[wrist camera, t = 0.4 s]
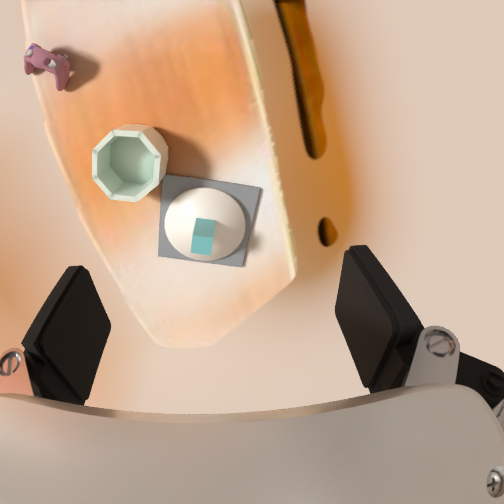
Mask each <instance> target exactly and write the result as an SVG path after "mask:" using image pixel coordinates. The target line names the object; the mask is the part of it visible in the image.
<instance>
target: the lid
mask: <svg viewBox="0 0 504 504" xmlns="http://www.w3.org/2000/svg"><path fill="white" fill-rule="evenodd" d="M165 232H166V235H167V237H168V240H169V241H170V243H171V244H172V245H173V247H174V248H175V249H176V250H177V251H179V252H180V253H181V254H183V255H185V256H187V257H189V258H192V259H195V260H200V261H211V260H217V259H220V258H223V257H225V256H227V255H229V254H230V253H232V252H233V251H234V250H235V249H236V248H237V247H238V246H239V244H240V243H241V241H242V239H243V237H244V233H245V217H244V213H243V211H242V208H241V207H240V205H239V203H238V202H237V201H236V200H235V199H234V198H233V197H232V196H231V195H229V194H228V193H226V192H224V191H222V190H220V189H217V188H213V187H196V188H192V189H189V190H186V191H184V192H183V193H181V194H180V195H178V196H177V197H176V198H175V199H174V200H173V201H172V203H171V204H170V206H169V208H168V210H167V213H166V216H165Z"/></svg>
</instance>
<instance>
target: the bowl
mask: <svg viewBox="0 0 504 504" xmlns="http://www.w3.org/2000/svg"><path fill="white" fill-rule="evenodd" d="M168 148H169V147H168V146H167V144H166V141H165V139H164V138H163V136H162V135H161V134H160V133H159V132H158V131H157V130H156V129H154V128H153V127H152V126H148V125H144V124H124V125H122V126H120V127H118V128H115V129H113V130H112V131H111V132H110V133H109V134H108V135H107V136H106V137H105V138H104V139H103V140H102V141H101V142H100V143H99V144H98V145H97V146H96V147H95V148H94V149H93V150H92V179H93V180H94V181H95V182H96V183H97V185H98V186H99V187H100V188H101V189H102V190H103V191H104V193H105V194H106V195H107V196H108V197H109V198H110V199H113V200H122V201H131V202H138V201H139V200H140V199H142V198H143V197H144V196H145V195H146V194H148V193H149V192H150V191H151V190H153V189H154V188H155V187H156V186H157V185H159V183H160V182H161V180H162V179H163V177H164V176H165V174H166V167H167V163H168V157H169V153H168Z"/></svg>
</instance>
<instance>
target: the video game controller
mask: <svg viewBox="0 0 504 504" xmlns="http://www.w3.org/2000/svg"><path fill="white" fill-rule="evenodd" d="M67 59H68V57H67V55H65V54H62V56H61V55H58V54H52V53H50V52H49V51H46V50H44V49H42V48H41V47H40V46H38V45H37V44H34V43H32V44H31V45H30V47H29V48H28V49H27V51H26V53H25V55H24V62H25V66H24V68H25V73H26V74H27V75H29V74H31V73H32V72H33V71H34V70H35V67H36V68H39V69H45V70H47V71H48V72H51V73H53V74H54V75H55V79H56V88H57V90H58V91H61V90H63V89H64V88H65V87H66V85H67V83H68V80H69V74H70V70H69V66H70V63H69V61H68V60H67Z"/></svg>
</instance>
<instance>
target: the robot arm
mask: <svg viewBox="0 0 504 504" xmlns="http://www.w3.org/2000/svg"><path fill="white" fill-rule="evenodd" d="M335 315H336V318H337V320H338V323H339V325H340V327H341V330H342V332H343V335H344V337H345V340H346V342H347V345H348V347H349V350H350V352H351V355H352V358H353V360H354V363H355V365H356V368H357V370H358V373H359V376H360V379H361V381H362V384H363V386H364V387H365V388H369V391H370V394H368V395H364V396H359V397H354V398H349V399H344V400H339V401H333V402H328V403H322V404H316V405H310V406H303V407H296V408H288V409H280V410H271V411H260V412H246V413H230V414H161V413H160V414H159V413H143V412H130V411H120V410H111V409H103V408H95V407H89V406H84V403H85V400H87V399H88V398H89V395H90V392H91V388H92V385H93V382H94V378H95V375H96V372H97V369H98V366H99V362H100V359H101V356H102V353H103V350H104V347H105V345H106V342H107V339H108V336H109V333H110V330H111V323H110V320H109V318H108V316H107V314H106V311H105V309H104V307H103V305H102V302H101V300H100V298H99V295H98V293H97V291H96V288H95V286H94V283H93V281H92V278H91V276H90V273H89V271H88V270H87V269H85V268H84V267H83V266H69V267H68V268H67V269H66V271H65V272H64V274H63V275H62V277H61V278H60V280H59V281H58V282H57V284H56V286H55V287H54V289H53V290H52V292H51V293H50V295H49V296H48V298H47V300H46V301H45V303H44V304H43V306H42V308H41V309H40V311H39V313H38V314H37V316H36V318H35V319H34V321H33V323H32V324H31V326H30V328H29V330H28V331H27V333H26V335H25V337H24V339H23V341H22V342H21V344H22V345H23V346H24V348H25V351H24V353H23V351H21V350H20V349H18V348H11V349H9V350H7V351H5V352H4V353H3V354H2V355H1V356H0V504H504V372H503V371H502V370H501V369H499V368H498V367H496V366H493V365H491V364H489V363H486V362H484V361H481V360H479V359H477V358H474V357H472V356H469V355H467V354H464V353H462V352H460V344H459V342H458V339H457V338H456V336H455V335H454V334H453V333H452V332H450V331H449V330H448V329H446V328H444V327H440V326H430V327H427V328H424V327H423V325H422V324H421V321H420V320H419V318H418V317H417V315H416V314H415V312H414V311H413V309H412V308H411V306H410V305H409V303H408V302H407V300H406V299H405V297H404V296H403V294H402V293H401V291H400V290H399V289H398V287H397V286H396V284H395V283H394V282H393V280H392V279H391V277H390V276H389V275H388V273H387V272H386V270H385V269H384V268H383V266H382V265H381V264H380V262H379V261H378V260H377V258H376V257H375V256H374V254H373V253H372V252H371V250H370V249H369V248H368V247H367V246H366V245H356V246H350V248H349V250H347V251H345V253H344V259H343V265H342V271H341V277H340V284H339V289H338V294H337V300H336V305H335Z"/></svg>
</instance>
